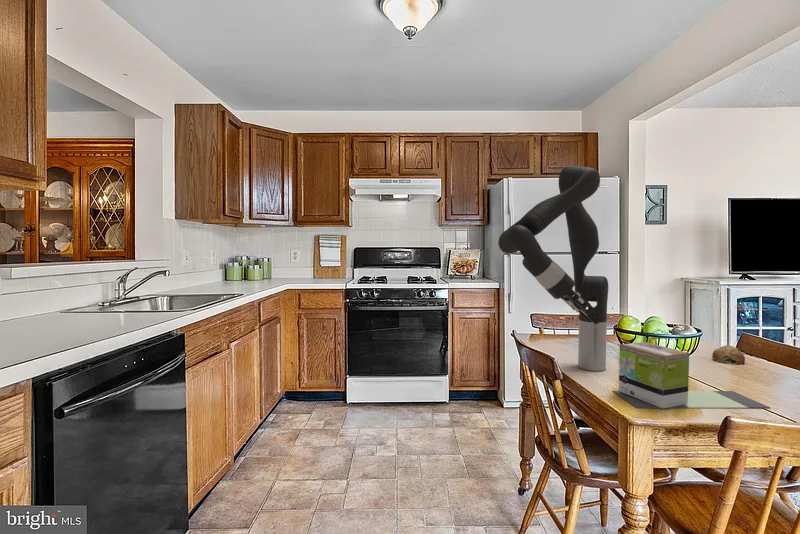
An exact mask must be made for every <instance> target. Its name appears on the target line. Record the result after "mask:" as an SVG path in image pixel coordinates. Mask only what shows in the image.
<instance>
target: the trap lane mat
mask: <svg viewBox="0 0 800 534" xmlns="http://www.w3.org/2000/svg"><path fill="white" fill-rule="evenodd" d="M612 392H613V393H614V394H615V395H616V396H618V397H620V399H623V400H624V401H626V402H627V403H628V404H630V405H631V406H632V407H634V408H635V409H660V408H659V407H657V406H655V405H652V404H650V403H648V402H645V401H643V400H640V399H638V398H635V397H633V396H630V395H628V394H625V393H622V392H619V390H612ZM764 408H770V409H771V407H770V406H768V405H765V404H764V403H761V402H759V401H757V400H754V399H752V398H750V397H748V396H745V395H743V394H740V393H739V392H735V391H734V390H688V403H687V404H685V405H680V406H674V407H669V408H668V409H757V410H758V409H764Z"/></svg>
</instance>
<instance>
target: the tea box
mask: <svg viewBox="0 0 800 534" xmlns="http://www.w3.org/2000/svg"><path fill="white" fill-rule="evenodd" d="M618 365H619V366H618V367H619V368H618V391H619V392H622V393H625V394H628V395H630V396H633V397H635V398H638V399H640V400H643V401H645V402H648V403H650V404H652V405H655V406H657V407H659V408H658V409H670V408H669V407H674V406H680V405H685V404H687V403H688V391H689V380H690V379H689V375H690V352H687V351H683V350H679V349H675V348H671V347H667V346H662V345H658V344H655V343H650V342H646V341H640V342H631V343H623V344H620V343H619V364H618Z"/></svg>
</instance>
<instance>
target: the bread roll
mask: <svg viewBox="0 0 800 534" xmlns="http://www.w3.org/2000/svg"><path fill="white" fill-rule="evenodd" d="M711 355H712V356H711V358H712V360H713V361H715V362H717V363H721V364H726V365H744V364H745V361H746V356H745V354H744V353H743V352H742V351H741V350H740V349H739V348H737V347H735V346H732V345H722V346H720V347H717V348H716V349H714V350H713V352H712V354H711ZM743 363H744V364H743Z"/></svg>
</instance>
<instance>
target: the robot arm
mask: <svg viewBox="0 0 800 534" xmlns="http://www.w3.org/2000/svg"><path fill="white" fill-rule="evenodd" d="M600 182H601V175H600V173H599V171H598V170H597V169H595V168H593V167H587V166H576V165H567V166H565V167H563V168H562V169H561V171H560V173H559V176H558V189H559V194H557V195H554V196H551V197H549V198H546V199H544V200H543V201H541V202H539V203H537V204H535V206H533V207H532V208H531V209H530V210H528V211H527V212H526V213H525V214H524V215H523V216H522V217H521V218H520V219H519V220H517V221H516V222H515V223H513V224H512V225H510V226H509V227H508V228H506V230H504V231H503V232H502V233H501V234H500V235H499V238H498V242H497V243H498V247H499V250H501V251H502V252H503V253H505V254H515V253H518V252H519V253H520V254H521V255H522V257H523V259H522V266H523V267H524V268H525V269H526V270H527V271H528V272H529V274H531V275H532V277H534V278H535V280H536V281H537V283H538V284H540V286H541V287H542V288H543V289H544V290H545V291H547V293H548V294H549V295H550V296H552V297H553V299H555V300H559V299H561V300H562V301H564V302H565V303H566V305H568V306H569V307H570V308H571V309H572V311H575V312H576V313H579V314H578V347H577V348H578V349H577V350H578V355H577V358H578V361H577V362H578V363H577V366H578V368H580V369H582V370H586V371H593V372H598V371H599V372H600V371H605V370H607V369H606V367H607V332H608V331H607V328H608V327H607V323H608V321H607V319H608V299H609V281H608V278H607V277H606V276H604V275H603V276H602V275H586V274H585V270H586V269H587V267H588V265H589V263H590V262H591V260H592V259H593V258H594V257H595V255H596V253H597V251H598V250H599V247H600V239H599V238H600V237H599V231H598V227H597V225H596V222H595V221H594V219H593V218H592V217H591V215H590V214H589V213H588V211H587V210H586V208H585V206H584V204H583V203H582V202H584V201H586V200H588V199H589V198H590V197H592V196H593V195H594V194H595V193H596V191H597V190H598V189H599V186H600ZM564 213H565V219H566V225H567V234H568V241H569V247H570V253H571V254H570V255H571V258H572V267H573V278H572V276H570V275H569V274H568V273H567V272H566V271H565V270H564V269H563V268H562V267H561V266H560V265H559V264H558V263H556V262H555V261H553V259H552V258H551V257H550V256H549V255H548V254H547V253H546V252H545V251H544V250H543V248H542V246H541V245H540V243H539V242H538V239H537V238H536V236H537V235H539V234H540V233H542V232H543V231H544V230H545V229H546V228H547V227H548V226H550V225H552V223H553V222H554V221H555V220H556V219H558V218H560V216H561V215H563V214H564ZM590 302H593V303H594V302H595V303H596V305H595V306H592V304H590Z"/></svg>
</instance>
